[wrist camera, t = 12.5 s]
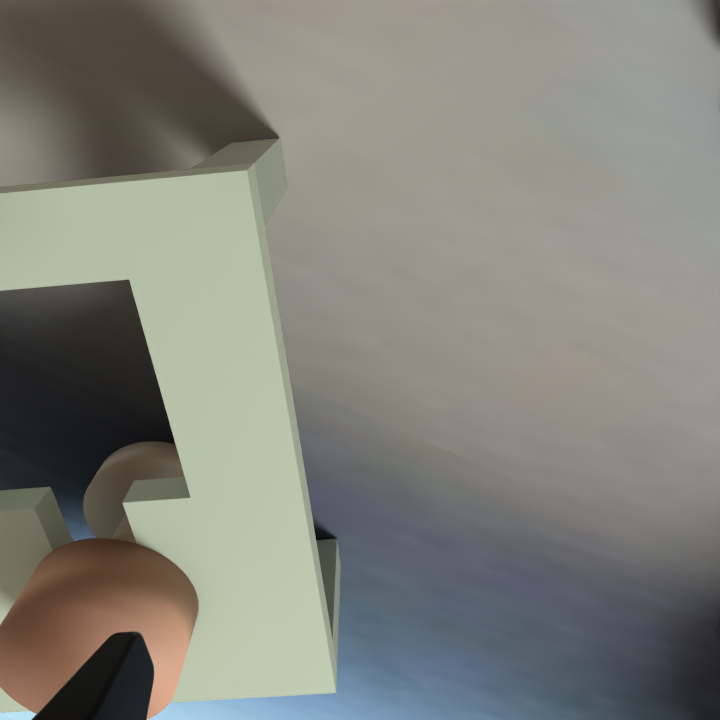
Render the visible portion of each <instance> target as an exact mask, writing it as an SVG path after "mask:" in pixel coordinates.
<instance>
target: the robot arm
mask: <svg viewBox="0 0 720 720" xmlns="http://www.w3.org/2000/svg"><path fill="white" fill-rule="evenodd" d="M717 638H718V642H719V646H720V620H719V623H718V627H717ZM153 682H154V665H153V661H152V659H151V656H150V653H149V651H148V648H147V646H146V643H145V640H144V638H143V636H142V634H141V633H139V632H138V631H131V632H118V633H114V634H113V635H111V636H110V637H109V638H108V639H107V640H106V641H105V642H104V643H103V644H102V645H101V646H100V647H99V648H98V649H97V650H96V651H95V652H94V653H93V655H92V656H91V657H90V658H89V659H88V660H87V661H86V662H85V663H84V664H83V665H82V666H81V667H80V668H79V670H78V671H77V672H76V673H75V674H74V675H73V676H72V677H71V678H70V679H69V680H68V681H67V682H66V683H65V684H64V686H63V687H62V688H61V689H60V690H59V691H58V692H57V693H56V694H55V695H54V696H53V697H52V698H51V699H50V700H49V702H48V703H47V704H46V705H45V706H44V707H43V708H42V709H41V710H40V711H39V712H38V713H37V714H36V715H35V717H34V718H33V719H32V720H146V719H147V714H148V709H149V703H150V698H151V693H152V688H153Z"/></svg>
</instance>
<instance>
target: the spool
mask: <svg viewBox="0 0 720 720" xmlns="http://www.w3.org/2000/svg"><path fill="white" fill-rule="evenodd" d="M176 477H185V476H184V472H183V469H182V465H181V462H180V458H179V455H178V451H177V448H176V444H172V443H167V442H158V441H146V442H139V443H134V444H130V445H128V446H125V447H123V448H121V449H119V450H117V451H115V452H114V453H113V454H111V455H110V456H109V457H108V458H107V459H106V460H105V461H104V463H103V464H102V466H101V467H100V469H99V470H98V472H97V473H96V475H95V477H94V478H93V480H92V481H91V483H90V484H89V486H88V488H87V490H86V492H85V495H84V500H83V511H84V516H85V519H86V522H87V524H88V526H89V528H90V530H91V531H92V533H93V534H94V536H95V537H96V538H92V539H84V540H78V541H74V542H70V543H68V544H65V545H62V546H60V547H58V548H57V549H55V550H53V551H52V552H50V553H49V554H48V555H46V556H45V557H44V559H43V560H42V561H41V562H40V563H39V565H38V566H37V568H36V569H35V571H34V573H33V574H32V576H31V577H30V579H29V581H28V582H27V584H26V585H25V587H24V588H23V590H22V592H21V593H20V595H19V596H18V598H17V599H16V601H15V603H14V604H13V606H12V607H11V609H10V610H9V612H8V614H7V615H6V617H5V618H4V620H3V621H2V623H1V625H0V687H1V688H2V689H3V691H4V692H5V693H6V694H7V695H9V696H10V697H11V698H12V699H13V700H15V701H16V702H17V703H19V704H20V705H22V706H23V707H25V708H27V709H28V710H30V711H32V712H34V713H36V714H37V713H38V712H39V711H40V710H41V709H42V708H43V707H44V706H45V705H46V704H47V703H48V702H49V700H50V699H51V698H52V697H53V696H54V695H55V694H56V693H57V692H58V691H59V690H60V689H61V688H62V687H63V686H64V684H65V683H66V682H67V681H68V680H69V679H70V678H71V677H72V676H73V675H74V674H75V673H76V672H77V671H78V670H79V668H80V667H81V666H82V665H83V664H84V663H85V662H86V661H87V660H88V659H89V658H90V657H91V656H92V655H93V653H94V652H95V651H96V650H97V649H98V648H99V647H100V646H101V645H102V644H103V643H104V642H105V641H106V640H107V639H108V638H109V637H110V636H111V635H113V634H114V633H118V632H131V631H138V632H139V633H141V634H142V636H143V638H144V640H145V643H146V646H147V648H148V651H149V653H150V656H151V659H152V661H153V665H154V682H153V688H152V693H151V698H150V703H149V709H148V714H147V719H150V718H151V717H153V716H155V715H157V714H158V713H159V712H161V711H162V710H163V709H164V708H165V707H166V706H167V705H168V704H169V703H170V701H171V700H172V698H173V697H174V694H175V691H176V688H177V685H178V682H179V678H180V675H181V671H182V668H183V664H184V661H185V657H186V654H187V650H188V647H189V644H190V640H191V637H192V633H193V630H194V626H195V623H196V619H197V616H198V610H199V603H198V597H197V593H196V591H195V588H194V586H193V584H192V583H191V581H190V579H189V578H188V577H187V575H186V574H185V573H184V572H183V571H182V570H181V569H180V568H179V567H178V566H177V565H176V564H175V563H173V562H172V561H171V560H169V559H168V558H166V557H165V556H163V555H161V554H160V553H158V552H156V551H154V550H152V549H150V548H147V547H144V546H142V545H139V544H137V543H136V540H135V537H134V535H133V532H132V529H131V526H130V523H129V520H128V517H127V515H126V512H125V509H124V506H123V503H122V502H123V501H124V499H125V497H126V495H127V493H128V491H129V489H130V487H131V486H132V484H133V482H134V481H136V480H149V479H163V478H176ZM147 719H146V720H147Z"/></svg>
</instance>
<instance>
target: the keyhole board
mask: <svg viewBox="0 0 720 720" xmlns="http://www.w3.org/2000/svg"><path fill="white" fill-rule="evenodd" d="M286 189H287V185H286V178H285V170H284V163H283V156H282V149H281V142H280V138H275V139H264V140H254V141H243V142H233V143H230V144H229V145H227V146H226V147H224V148H223V149H221V150H219V151H218V152H216V153H215V154H213V155H212V156H210V157H209V158H207V159H205V160H204V161H202V162H201V163H199V164H198V165H196V166H195V167H193V168H191V169H187V170H176V171H166V172H155V173H144V174H134V175H123V176H113V177H102V178H91V179H81V180H70V181H59V182H49V183H38V184H27V185H17V186H6V187H0V291H2V290H14V289H25V288H36V287H48V286H59V285H71V284H82V283H94V282H105V281H117V280H128V279H129V281H130V284H131V288H132V292H133V295H134V299H135V302H136V306H137V309H138V313H139V316H140V320H141V323H142V327H143V331H144V334H145V338H146V341H147V345H148V348H149V352H150V355H151V359H152V362H153V366H154V370H155V373H156V377H157V380H158V384H159V387H160V391H161V394H162V398H163V401H164V405H165V409H166V412H167V416H168V419H169V423H170V426H171V430H172V433H173V437H174V440H175V444H176V448H177V451H178V455H179V458H180V462H181V465H182V469H183V472H184V476H185V477H176V478H163V479H149V480H136V481H134V482H133V484H132V486H131V487H130V489H129V491H128V493H127V495H126V497H125V499H124V501H123V502H122V503H123V506H124V509H125V512H126V515H127V517H128V520H129V523H130V526H131V529H132V532H133V535H134V537H135V540H136V543H137V544H139V545H142V546H144V547H147V548H150V549H152V550H154V551H156V552H158V553H160V554H161V555H163V556H165V557H166V558H168V559H169V560H171V561H172V562H173V563H175V564H176V565H177V566H178V567H179V568H180V569H181V570H182V571H183V572H184V573H185V574H186V575H187V577H188V578H189V579H190V581H191V583H192V584H193V586H194V588H195V591H196V593H197V597H198V603H199V610H198V616H197V619H196V623H195V626H194V630H193V633H192V637H191V640H190V644H189V647H188V650H187V654H186V657H185V661H184V664H183V668H182V671H181V675H180V678H179V682H178V685H177V688H176V691H175V694H174V697H173V698H172V700H171V701H170V703H172V702H189V701H206V700H223V699H240V698H257V697H274V696H291V695H308V694H325V693H336V679H337V650H338V622H339V593H340V557H339V550H338V543H337V539H327V540H316V537H315V530H314V524H313V518H312V512H311V506H310V500H309V494H308V488H307V482H306V476H305V470H304V464H303V457H302V451H301V445H300V439H299V433H298V427H297V421H296V415H295V409H294V403H293V397H292V390H291V384H290V378H289V372H288V366H287V360H286V354H285V348H284V342H283V336H282V330H281V323H280V317H279V311H278V305H277V299H276V293H275V287H274V281H273V275H272V269H271V263H270V257H269V250H268V244H267V238H266V232H265V226H266V224H267V222H268V220H269V219H270V217H271V215H272V213H273V212H274V210H275V208H276V206H277V205H278V203H279V201H280V199H281V197H282V196H283V194H284V192H285V190H286ZM70 542H73V539H72V537H71V535H70V532H69V530H68V527H67V525H66V523H65V520H64V518H63V515H62V513H61V511H60V508H59V506H58V503H57V501H56V499H55V496H54V494H53V491H52V489H51V487H41V488H27V489H14V490H0V625H1V623H2V621H3V620H4V618H5V617H6V615H7V614H8V612H9V610H10V609H11V607H12V606H13V604H14V603H15V601H16V599H17V598H18V596H19V595H20V593H21V592H22V590H23V588H24V587H25V585H26V584H27V582H28V581H29V579H30V577H31V576H32V574H33V573H34V571H35V569H36V568H37V566H38V565H39V563H40V562H41V561H42V560H43V559H44V557H45V556H46V555H48V554H49V553H50V552H52V551H53V550H55V549H57V548H58V547H60V546H62V545H65V544H68V543H70ZM20 711H30V710H28V709H27V708H25V707H23V706H22V705H20V704H19V703H17V702H16V701H15V700H13V699H12V698H11V697H10V696H9V695H7V694H6V693H5V692H4V691H3V689H2V688H1V687H0V713H3V712H20Z"/></svg>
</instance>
